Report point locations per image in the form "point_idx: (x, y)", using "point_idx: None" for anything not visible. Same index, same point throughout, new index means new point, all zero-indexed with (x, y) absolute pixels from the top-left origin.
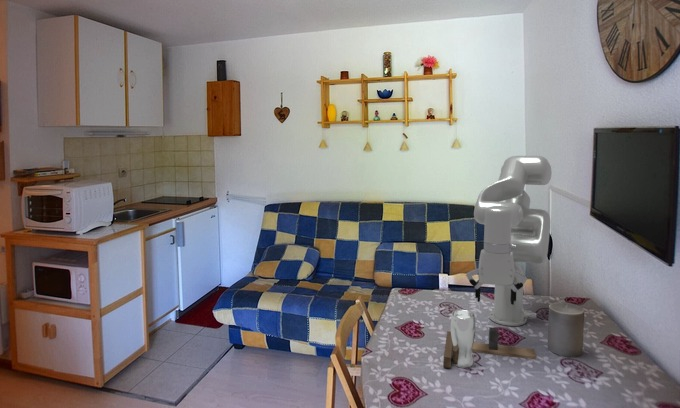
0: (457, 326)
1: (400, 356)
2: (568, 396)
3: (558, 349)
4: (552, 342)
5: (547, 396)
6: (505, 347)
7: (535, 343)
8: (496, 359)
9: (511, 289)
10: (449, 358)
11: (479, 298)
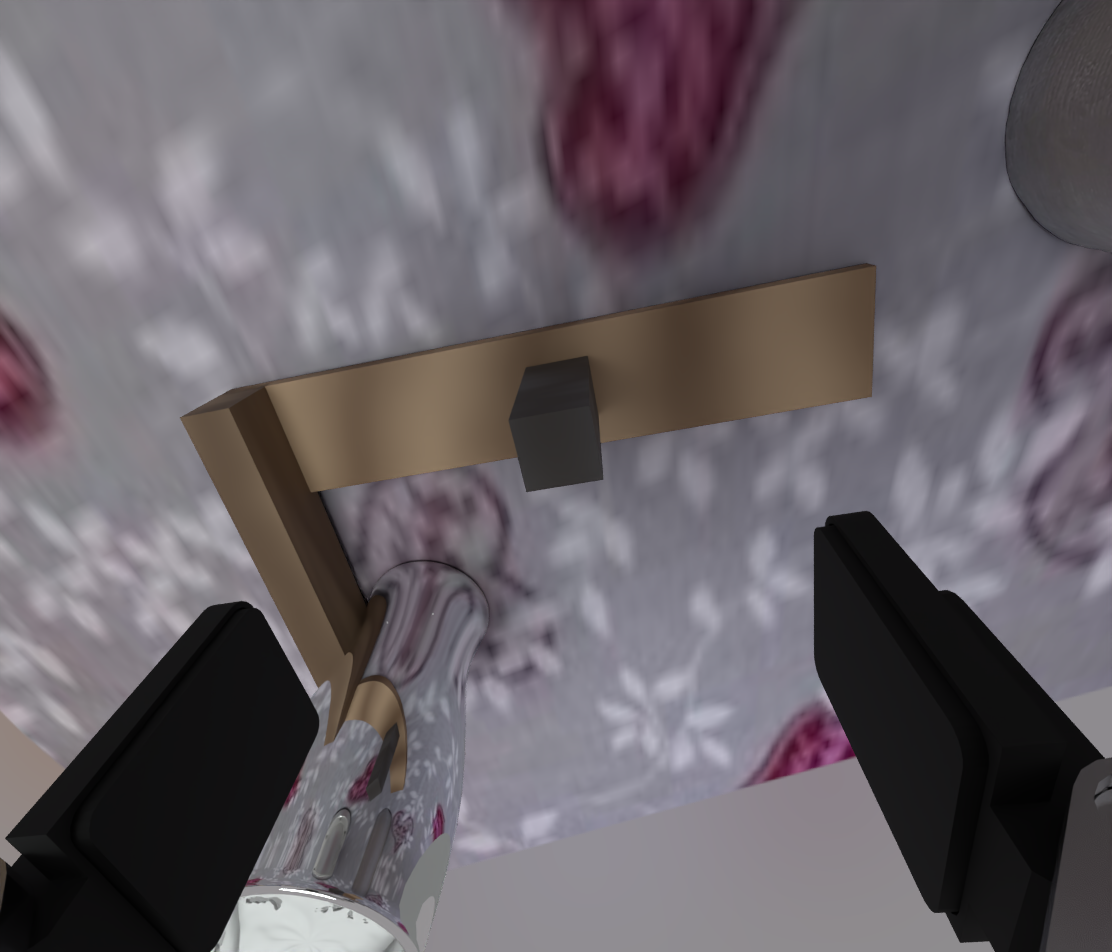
0: (329, 917)
1: (128, 665)
2: None
3: (1099, 244)
4: (1091, 208)
5: None
6: (650, 341)
7: (908, 67)
8: (604, 498)
9: (980, 778)
10: None
11: (289, 773)
